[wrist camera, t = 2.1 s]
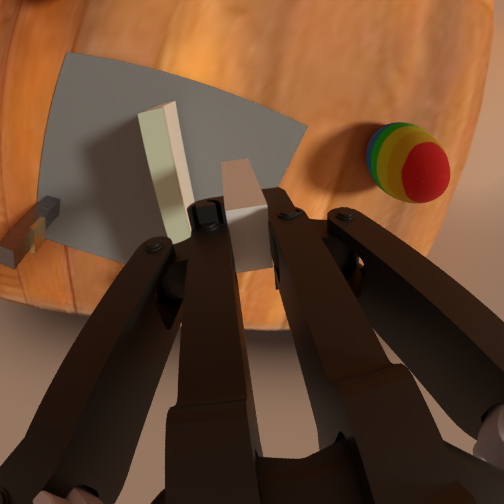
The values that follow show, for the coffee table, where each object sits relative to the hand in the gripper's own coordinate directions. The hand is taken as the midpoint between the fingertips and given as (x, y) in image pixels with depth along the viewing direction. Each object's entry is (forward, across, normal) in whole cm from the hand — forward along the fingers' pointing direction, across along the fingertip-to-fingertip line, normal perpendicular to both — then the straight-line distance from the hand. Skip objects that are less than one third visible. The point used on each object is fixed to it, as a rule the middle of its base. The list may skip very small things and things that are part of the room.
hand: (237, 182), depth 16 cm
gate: (+12, -5, -3) cm, 14 cm away
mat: (+13, -9, -2) cm, 16 cm away
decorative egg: (+13, +18, -3) cm, 22 cm away
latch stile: (+13, -21, -2) cm, 25 cm away
